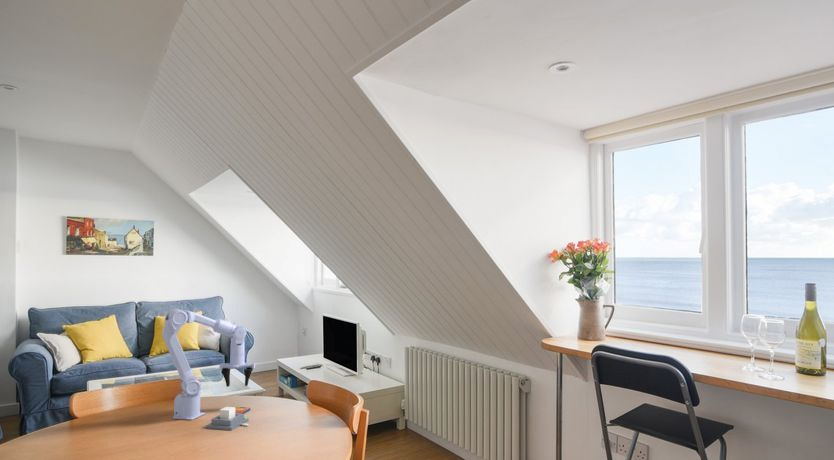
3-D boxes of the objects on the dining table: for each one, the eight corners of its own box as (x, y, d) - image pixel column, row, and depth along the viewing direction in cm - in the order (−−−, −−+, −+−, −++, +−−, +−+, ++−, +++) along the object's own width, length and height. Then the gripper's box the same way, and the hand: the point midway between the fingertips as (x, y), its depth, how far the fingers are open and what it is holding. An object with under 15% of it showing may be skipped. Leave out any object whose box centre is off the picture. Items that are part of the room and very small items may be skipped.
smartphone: (214, 421, 195) (214, 419, 195) (235, 409, 210) (235, 406, 210) (231, 422, 194) (231, 420, 194) (251, 410, 208) (251, 407, 208)
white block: (219, 423, 189) (219, 409, 189) (226, 419, 193) (226, 406, 193) (228, 423, 188) (228, 410, 188) (235, 420, 192) (235, 407, 192)
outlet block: (206, 428, 186) (206, 420, 186) (224, 418, 197) (224, 411, 197) (239, 431, 183) (239, 422, 183) (256, 421, 193) (256, 413, 193)
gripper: (217, 356, 207) (216, 388, 207) (252, 354, 209) (252, 387, 208) (222, 352, 214) (222, 384, 214) (256, 351, 216) (256, 383, 215)
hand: (237, 385), depth 211 cm, fingers open, 7 cm apart
